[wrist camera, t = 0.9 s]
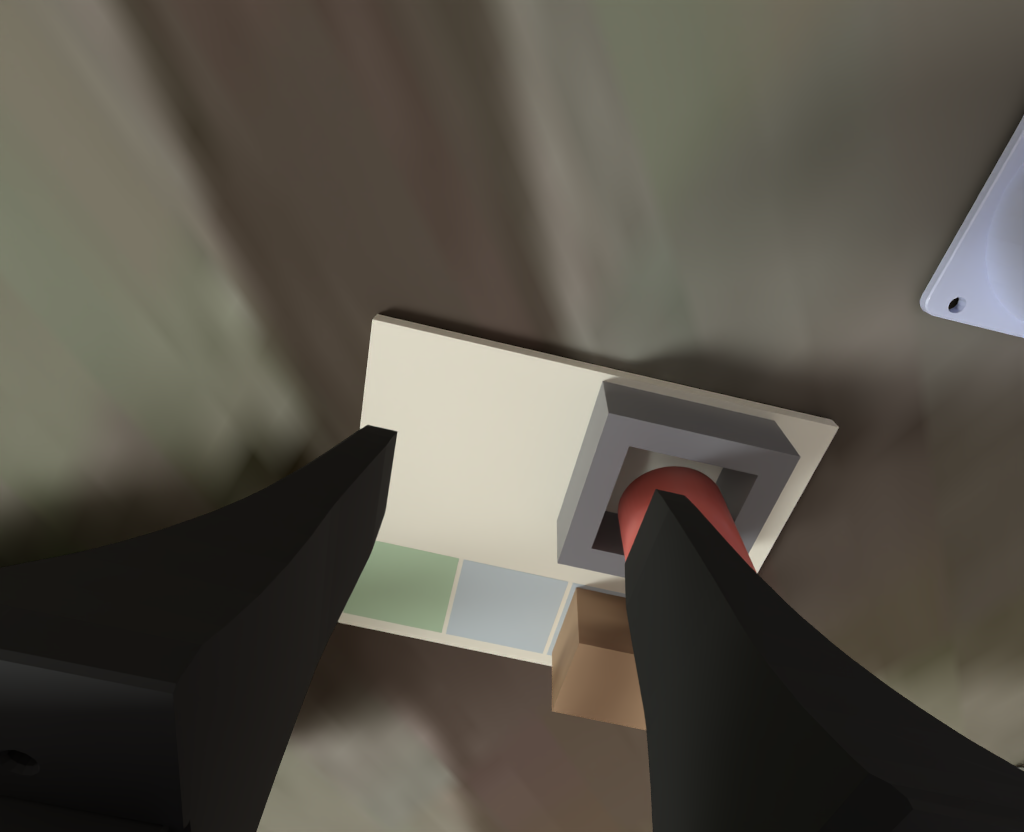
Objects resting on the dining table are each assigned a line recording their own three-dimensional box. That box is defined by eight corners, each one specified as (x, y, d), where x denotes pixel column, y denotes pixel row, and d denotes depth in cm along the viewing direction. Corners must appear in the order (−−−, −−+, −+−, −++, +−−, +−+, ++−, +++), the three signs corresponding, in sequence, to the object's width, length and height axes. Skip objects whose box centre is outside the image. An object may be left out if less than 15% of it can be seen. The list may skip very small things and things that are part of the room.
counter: (669, 606, 25) (683, 664, 23) (639, 670, 27) (648, 730, 25) (576, 587, 25) (579, 643, 23) (551, 652, 27) (552, 711, 24)
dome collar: (774, 420, 21) (800, 457, 19) (708, 554, 24) (724, 598, 22) (602, 380, 21) (608, 412, 18) (556, 520, 24) (557, 563, 21)
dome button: (740, 479, 20) (781, 560, 16) (700, 559, 21) (730, 649, 18) (636, 455, 19) (655, 532, 16) (604, 538, 21) (615, 625, 18)
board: (832, 419, 22) (839, 427, 21) (686, 683, 28) (689, 694, 28) (377, 313, 21) (372, 319, 20) (341, 612, 28) (337, 622, 27)
